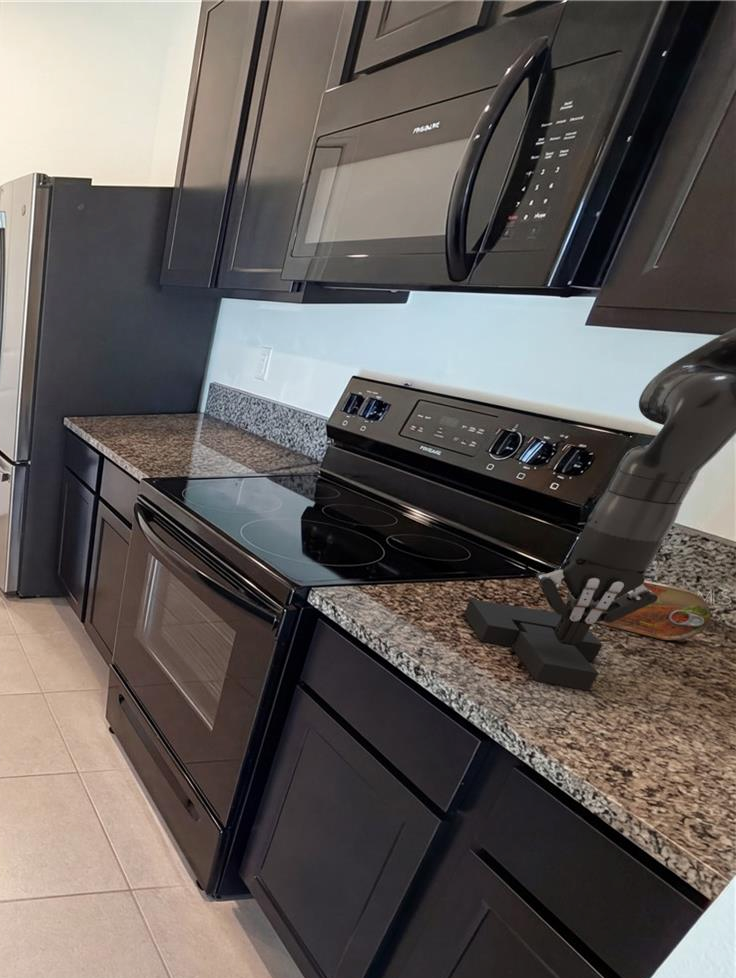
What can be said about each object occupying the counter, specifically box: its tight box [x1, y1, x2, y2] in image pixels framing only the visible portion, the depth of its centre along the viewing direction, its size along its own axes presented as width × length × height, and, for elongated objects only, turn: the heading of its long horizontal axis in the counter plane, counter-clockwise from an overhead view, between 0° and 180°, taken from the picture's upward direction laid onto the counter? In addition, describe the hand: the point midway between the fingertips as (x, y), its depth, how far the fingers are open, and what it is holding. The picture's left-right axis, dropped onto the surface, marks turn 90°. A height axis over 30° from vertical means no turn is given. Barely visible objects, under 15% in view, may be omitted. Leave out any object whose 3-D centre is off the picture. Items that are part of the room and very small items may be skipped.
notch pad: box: [463, 598, 603, 662], centre depth 103 cm, size 14×10×3 cm
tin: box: [594, 579, 712, 641], centre depth 105 cm, size 15×3×8 cm, turn 45°
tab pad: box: [511, 623, 599, 692], centre depth 96 cm, size 6×14×3 cm, turn 157°
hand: (565, 642), depth 93 cm, fingers closed
